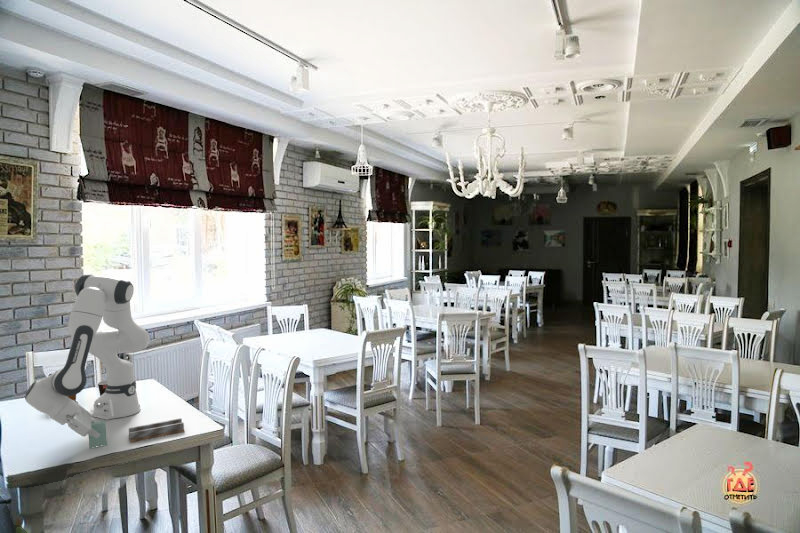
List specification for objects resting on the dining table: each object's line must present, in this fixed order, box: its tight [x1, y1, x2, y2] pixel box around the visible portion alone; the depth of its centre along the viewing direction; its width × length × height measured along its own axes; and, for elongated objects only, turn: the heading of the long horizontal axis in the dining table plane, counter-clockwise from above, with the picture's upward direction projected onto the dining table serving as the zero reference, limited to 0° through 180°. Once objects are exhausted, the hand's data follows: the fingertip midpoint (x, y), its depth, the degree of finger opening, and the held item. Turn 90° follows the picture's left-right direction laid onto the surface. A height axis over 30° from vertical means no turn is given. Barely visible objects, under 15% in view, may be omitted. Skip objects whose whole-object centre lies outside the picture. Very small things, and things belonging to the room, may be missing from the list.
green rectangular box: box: [87, 420, 108, 449], centre depth 207 cm, size 6×2×9 cm, turn 120°
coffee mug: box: [97, 379, 108, 397], centre depth 260 cm, size 12×9×10 cm
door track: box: [128, 417, 185, 444], centre depth 217 cm, size 20×9×4 cm, turn 120°
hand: (98, 432), depth 207 cm, fingers open, 8 cm apart
